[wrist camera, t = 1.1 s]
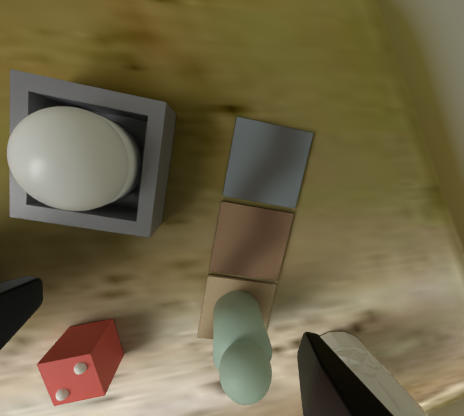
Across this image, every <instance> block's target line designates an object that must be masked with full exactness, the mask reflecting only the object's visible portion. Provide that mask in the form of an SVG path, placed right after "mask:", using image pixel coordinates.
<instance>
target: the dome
mask: <svg viewBox="0 0 464 416" xmlns="http://www.w3.org/2000/svg"><path fill="white" fill-rule="evenodd" d="M7 159H8V164H9V167H10V170H11V172H12V174H13V177H14V178H15V180H16V181H17V183H18V184H19V185H20V186H21V187H22V188H23V189H24V190H25V191H26V192H27V193H28V194H29V195H30V196H32V197H33V198H35V199H36V200H38V201H39V202H42V203H44V204H46V205H48V206H51V207H54V208H57V209H62V210H67V211H86V210H91V209H95V208H98V207H101V206H104V205H106V204H109V203H111V202H114V201H116V200H119V199H121V198H123V197H125V196H127V195H128V194H129V193H131V192H132V191H133V190H134V189H135V188H136V186H137V185H138V183H139V181H140V179H141V175H142V166H143V155H142V151H141V148H140V146H139V144H138V142H137V140H136V139H135V137H134V136H133V135H132V134H131V133H130V132H129V131H128V130H127V129H126V128H125V127H123V126H122V125H121V124H119V123H117V122H115V121H113V120H110V119H108V118H105V117H102V116H100V115H97V114H95V113H92V112H90V111H87V110H83V109H80V108H76V107H68V106H56V107H49V108H45V109H41V110H38V111H36V112H34V113H32V114H30V115H28V116H27V117H25V118H24V119H23V120H22V121H21V122H19V124H18V125H17V126H16V127H15V129H14V130H13V132H12V134H11V136H10V138H9V141H8V146H7Z"/></svg>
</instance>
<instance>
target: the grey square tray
mask: <svg viewBox="0 0 464 416" xmlns="http://www.w3.org/2000/svg"><path fill="white" fill-rule="evenodd" d="M56 106H68V107H76V108H80V109H83V110H87V111H90V112H92V113H95V114H97V115H100V116H102V117H105V118H108V119H110V120H113V121H115V122H117V123H119V124H121V125H122V126H123V127H125V128H126V129H127V130H128V131H129V132H130V133H131V134H132V135H133V136H134V137H135V139H136V140H137V142H138V144H139V146H140V148H141V151H142V155H143V166H142V175H141V179H140V181H139V183H138V185H137V186H136V188H135V189H134V190H133V191H132V192H131V193H129V194H128V195H127V196H125V197H123V198H121V199H119V200H116V201H114V202H111V203H109V204H106V205H104V206H101V207H98V208H95V209H91V210H86V211H67V210H62V209H57V208H54V207H51V206H48V205H46V204H44V203H42V202H39V201H38V200H36V199H35V198H33V197H32V196H30V195H29V194H28V193H27V192H26V191H25V190H24V189H23V188H22V187H21V186H20V185H19V184H18V183H17V181H16V180H15V178H14V177H13V174H12V172H11V170H10V217H13V218H20V219H26V220H33V221H40V222H47V223H53V224H60V225H67V226H74V227H81V228H87V229H94V230H101V231H108V232H114V233H121V234H128V235H135V236H142V237H148V238H150V237H151V235H152V234H153V233H154V232H155V231H156V229H157V228H158V227H159V226H160V225H161V223H162V220H163V213H164V205H165V198H166V190H167V183H168V175H169V168H170V160H171V152H172V145H173V137H174V130H175V122H176V114H175V112H174V111H173V110H172V109H171V107H170V106H169V105H168V104H167V103H166V102H163V101H158V100H153V99H148V98H144V97H139V96H134V95H130V94H125V93H120V92H115V91H111V90H106V89H101V88H97V87H92V86H87V85H83V84H78V83H73V82H68V81H64V80H59V79H54V78H50V77H45V76H40V75H35V74H31V73H26V72H21V71H17V70H12V69H10V136H11V134H12V132H13V130H14V129H15V127H16V126H17V125H18V124H19V122H21V121H22V120H23V119H24V118H25V117H27V116H28V115H30V114H32V113H34V112H36V111H38V110H41V109H45V108H49V107H56Z"/></svg>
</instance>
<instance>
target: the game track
mask: <svg viewBox="0 0 464 416" xmlns="http://www.w3.org/2000/svg"><path fill="white" fill-rule="evenodd" d="M312 137H313V133H311V132H307V131H302V130H297V129H293V128H288V127H283V126H278V125H274V124H269V123H264V122H260V121H255V120H250V119H246V118H241V117H237V118H236V124H235V129H234V135H233V140H232V146H231V152H230V157H229V163H228V168H227V174H226V179H225V185H224V190H223V196H226V197H232V198H238V199H243V200H249V201H255V202H261V203H267V204H272V205H278V206H284V207H290V208H295V207H296V203H297V199H298V195H299V191H300V187H301V183H302V178H303V174H304V170H305V166H306V162H307V158H308V154H309V149H310V145H311V141H312ZM293 216H294V214H293V213H289V212H283V211H277V210H271V209H265V208H260V207H254V206H248V205H242V204H236V203H230V202H224V201H222V202H221V207H220V213H219V218H218V224H217V229H216V235H215V241H214V246H213V252H212V257H211V263H210V268H209V271H212V272H220V273H227V274H234V275H242V276H249V277H256V278H264V279H271V280H278V278H279V273H280V269H281V265H282V261H283V257H284V253H285V249H286V244H287V240H288V236H289V232H290V228H291V224H292V220H293ZM276 286H277V285H276V284H275V283H268V282H261V281H253V280H246V279H238V278H231V277H223V276H216V275H208V280H207V285H206V291H205V296H204V302H203V307H202V313H201V319H200V324H199V330H198V335H197V338H207V339H213V311H214V306H215V304H216V302H217V301H218V299H219V298H220V297H221V296H223V295H224V294H226V293H228V292H231V291H244V292H247V293H249V294H251V295H252V296H253V297H254V298H255V299H256V300H257V302H258V305H259V308H260V311H261V315H262V318H263V321H264V324H265V328H266V327H267V323H268V319H269V315H270V311H271V306H272V302H273V298H274V294H275V290H276Z"/></svg>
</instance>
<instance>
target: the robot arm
mask: <svg viewBox="0 0 464 416" xmlns="http://www.w3.org/2000/svg"><path fill="white" fill-rule="evenodd" d="M42 301H43V283H42V280H41V279H40V278H36V277H31V276H26V277H22V278H18V279H14V280H10V281H6V282H2V283H0V350H1V349H2V348H3V347H4V346H5V344H6V343H7V342H8V341H9V340H10V339H11V338H12V337H13V336H14V335H15V333H16V332H17V331H18V330H19V329H20V328H21V327H22V326H23V325H24V324H25V322H26V321H27V320H28V319H29V318H30V317H31V316H32V315H33V314H34V312H35V311H36V310H37V309H38V308H39V307H40V305H41V304H42ZM297 359H298V369H299V379H300V389H301V399H302V408H303V416H394V415H393V414H392V413H391V412H390V411H389V410H388V409H387V408H386V407H385V406H384V405H383V404H382V403H381V401H380V400H379V399H378V398H377V397H376V396H375V395H374V394H373V393H372V392H371V391H370V390H369V389H368V388H367V386H366V385H365V384H364V383H363V382H362V381H361V380H360V379H359V378H358V377H357V376H356V375H355V374H354V373H353V371H352V370H351V369H350V368H349V367H348V366H347V365H346V364H345V363H344V362H343V361H342V360H341V359H340V358H339V356H338V355H337V354H336V353H335V352H334V351H333V350H332V349H331V348H330V347H329V346H328V345H327V344H326V342H325V341H324V340H323V339H322V338H321V337H320V336H319V335H318V334H315V333H311V332H305V333H304V334H303V337H302V340H301V343H300V346H299V350H298V356H297Z"/></svg>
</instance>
